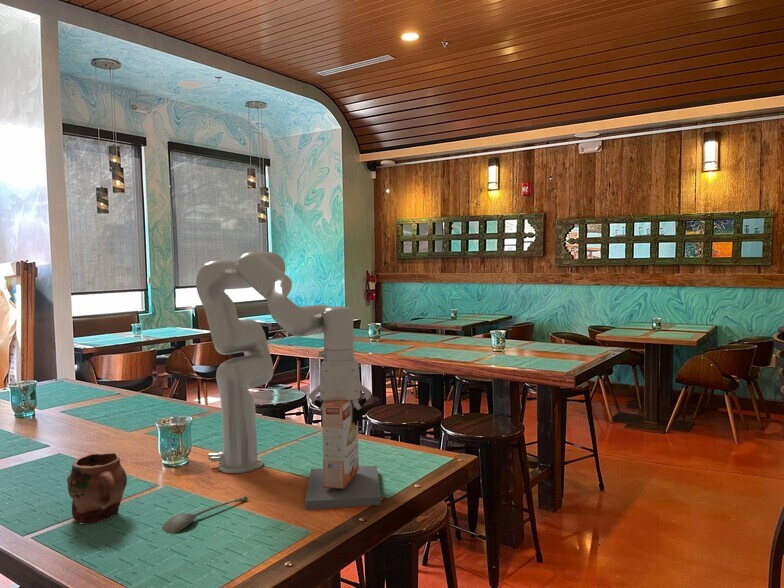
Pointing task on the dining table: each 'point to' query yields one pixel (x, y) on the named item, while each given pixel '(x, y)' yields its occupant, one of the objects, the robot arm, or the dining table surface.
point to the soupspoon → (190, 518)
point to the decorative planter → (96, 487)
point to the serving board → (344, 490)
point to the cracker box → (339, 444)
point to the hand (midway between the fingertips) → (341, 424)
